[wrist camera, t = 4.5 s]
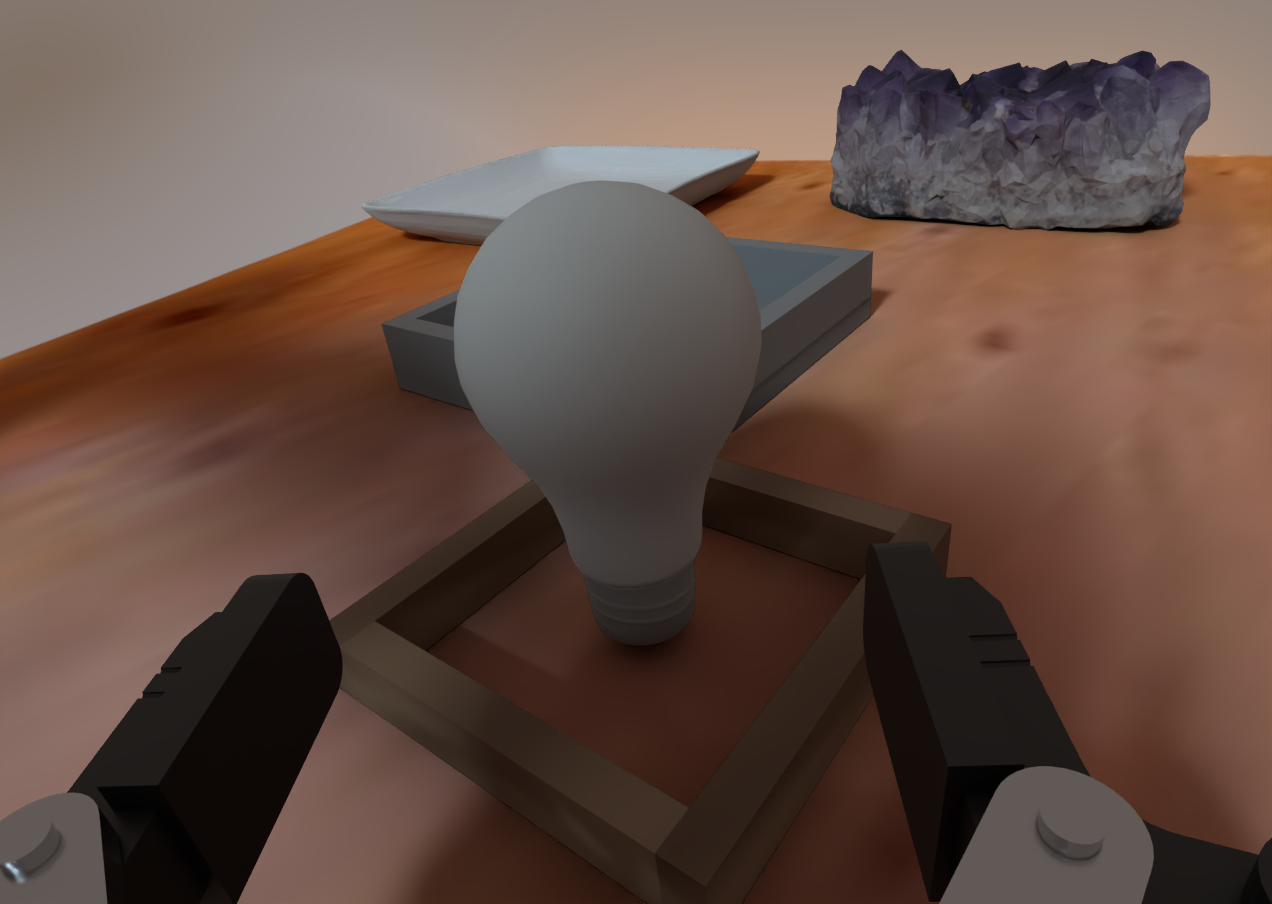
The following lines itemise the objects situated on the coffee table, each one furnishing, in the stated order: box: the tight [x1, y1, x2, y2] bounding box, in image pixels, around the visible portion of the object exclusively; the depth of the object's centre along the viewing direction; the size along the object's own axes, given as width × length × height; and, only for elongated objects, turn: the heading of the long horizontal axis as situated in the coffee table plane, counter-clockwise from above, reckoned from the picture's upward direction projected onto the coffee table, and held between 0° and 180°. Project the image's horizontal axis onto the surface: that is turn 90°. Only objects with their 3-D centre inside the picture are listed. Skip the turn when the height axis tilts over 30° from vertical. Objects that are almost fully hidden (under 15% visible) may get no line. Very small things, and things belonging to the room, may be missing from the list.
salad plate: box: [362, 146, 759, 246], centre depth 58 cm, size 21×21×3 cm
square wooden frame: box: [330, 457, 952, 904], centre depth 20 cm, size 11×11×2 cm
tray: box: [382, 237, 873, 431], centre depth 35 cm, size 15×15×3 cm
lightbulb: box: [454, 180, 762, 646], centre depth 17 cm, size 6×6×11 cm
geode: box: [830, 50, 1210, 230], centre depth 47 cm, size 20×12×10 cm, turn 58°
